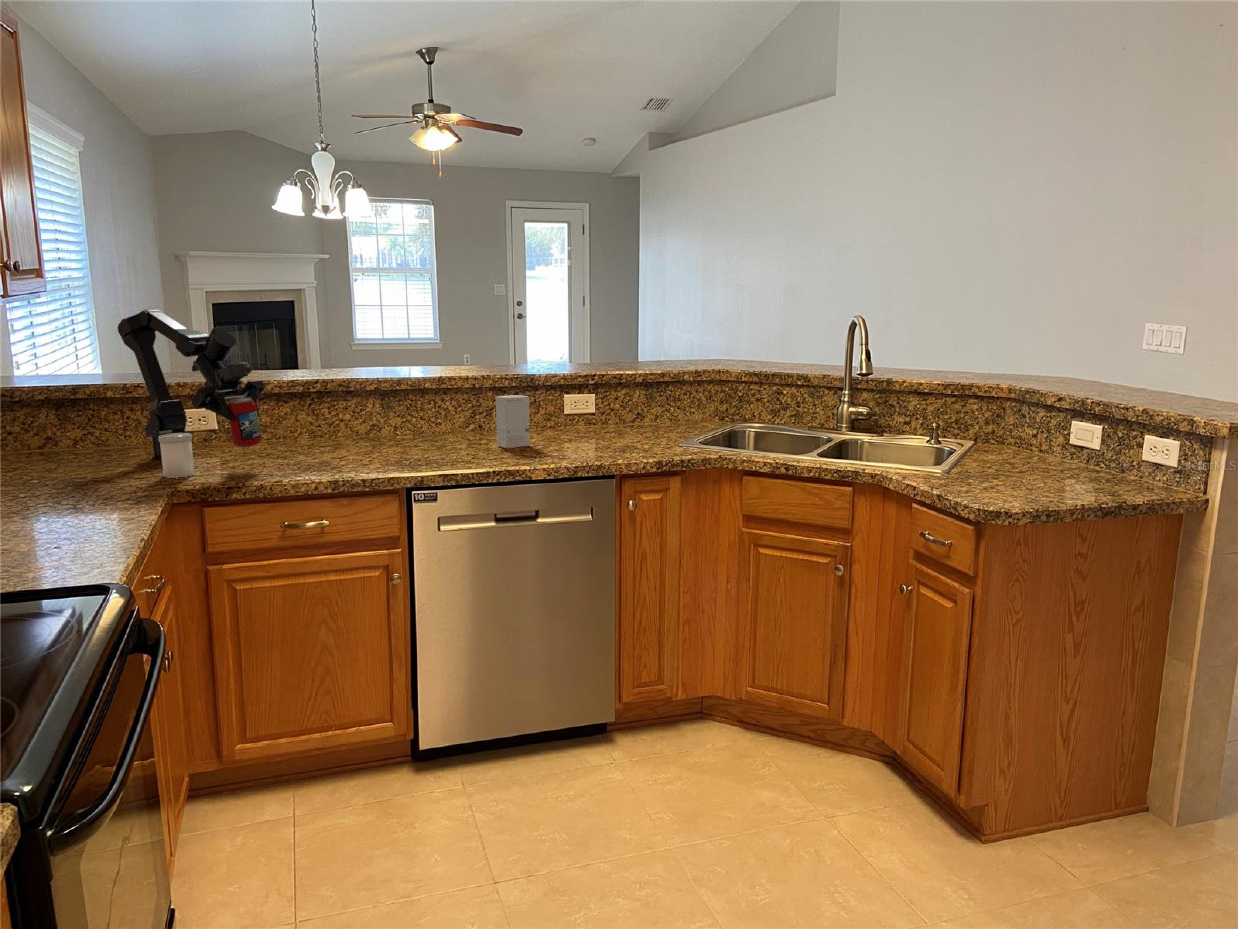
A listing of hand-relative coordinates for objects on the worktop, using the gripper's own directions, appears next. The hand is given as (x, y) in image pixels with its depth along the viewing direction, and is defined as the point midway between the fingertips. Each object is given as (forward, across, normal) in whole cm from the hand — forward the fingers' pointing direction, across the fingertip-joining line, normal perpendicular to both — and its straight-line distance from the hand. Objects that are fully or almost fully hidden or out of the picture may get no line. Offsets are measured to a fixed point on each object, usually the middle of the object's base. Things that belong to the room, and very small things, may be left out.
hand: (246, 418), depth 229 cm
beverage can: (+4, +1, +6) cm, 7 cm away
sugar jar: (+2, -13, +17) cm, 21 cm away
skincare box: (+37, +60, -19) cm, 73 cm away
